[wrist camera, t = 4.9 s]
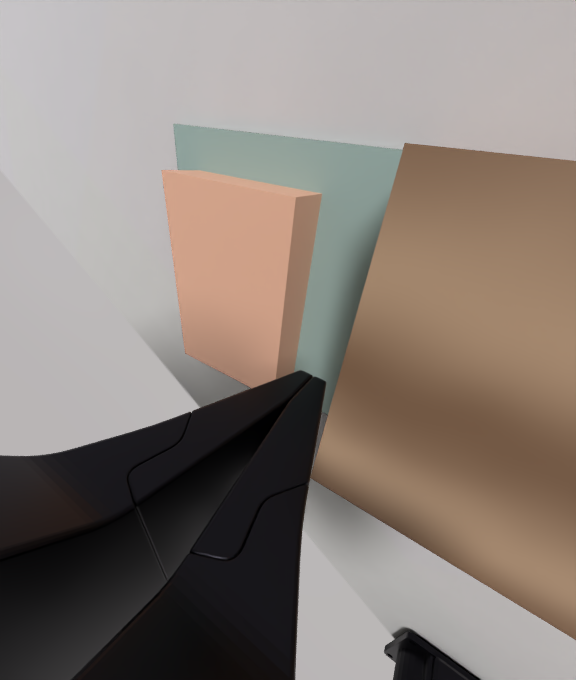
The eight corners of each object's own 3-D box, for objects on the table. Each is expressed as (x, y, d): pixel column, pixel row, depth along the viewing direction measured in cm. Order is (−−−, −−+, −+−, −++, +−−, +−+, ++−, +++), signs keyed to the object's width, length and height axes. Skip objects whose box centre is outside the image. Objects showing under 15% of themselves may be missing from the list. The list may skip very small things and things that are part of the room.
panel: (334, 413, 15) (332, 417, 15) (199, 346, 19) (195, 348, 19) (413, 151, 9) (411, 150, 8) (178, 124, 12) (173, 123, 12)
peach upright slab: (185, 353, 16) (210, 337, 17) (273, 399, 14) (293, 377, 15) (161, 170, 11) (199, 170, 12) (295, 197, 9) (322, 193, 10)
